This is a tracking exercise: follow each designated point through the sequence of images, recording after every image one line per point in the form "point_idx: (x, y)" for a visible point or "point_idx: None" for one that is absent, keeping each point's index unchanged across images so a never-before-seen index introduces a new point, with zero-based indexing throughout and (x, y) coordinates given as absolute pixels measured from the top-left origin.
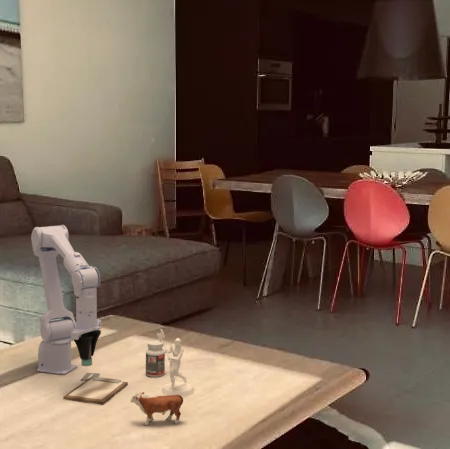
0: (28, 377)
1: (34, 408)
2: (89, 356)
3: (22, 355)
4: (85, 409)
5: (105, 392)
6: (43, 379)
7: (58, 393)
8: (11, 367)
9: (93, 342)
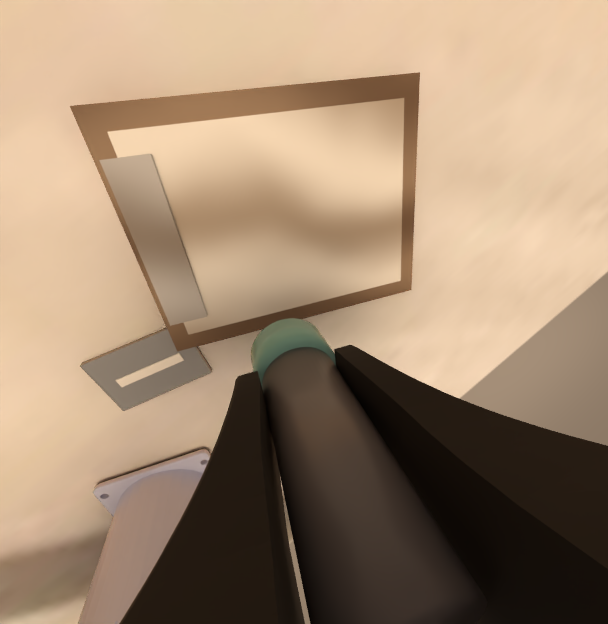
0: None
1: (486, 307)
2: (318, 361)
3: None
4: (469, 135)
5: (312, 140)
6: None
7: (362, 338)
8: None
9: (271, 501)
